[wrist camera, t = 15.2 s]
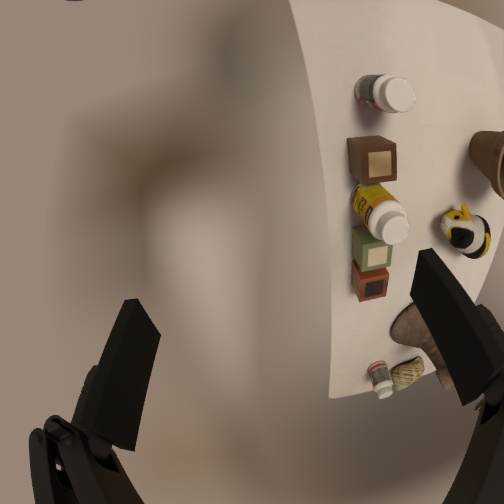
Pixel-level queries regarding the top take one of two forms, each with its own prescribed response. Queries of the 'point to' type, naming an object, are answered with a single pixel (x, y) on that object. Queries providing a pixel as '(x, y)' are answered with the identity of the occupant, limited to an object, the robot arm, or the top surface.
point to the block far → (369, 250)
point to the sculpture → (420, 341)
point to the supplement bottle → (380, 213)
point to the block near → (372, 159)
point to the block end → (369, 282)
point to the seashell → (407, 373)
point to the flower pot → (490, 157)
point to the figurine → (467, 232)
